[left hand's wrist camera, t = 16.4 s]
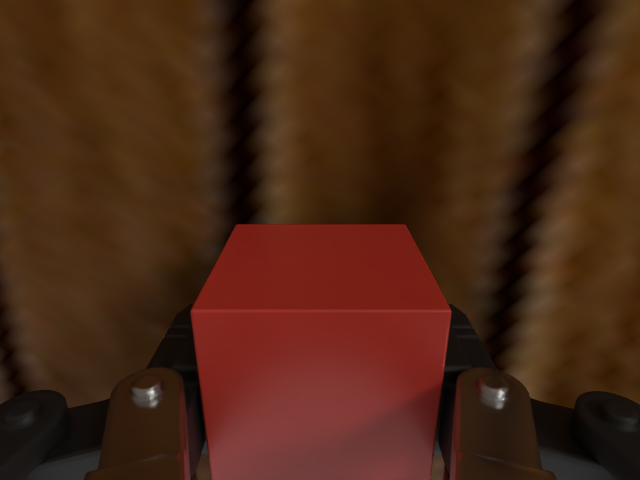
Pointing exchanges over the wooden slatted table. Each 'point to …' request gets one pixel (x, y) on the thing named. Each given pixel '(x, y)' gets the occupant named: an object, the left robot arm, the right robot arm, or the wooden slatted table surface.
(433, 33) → the wooden slatted table surface
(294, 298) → the block
